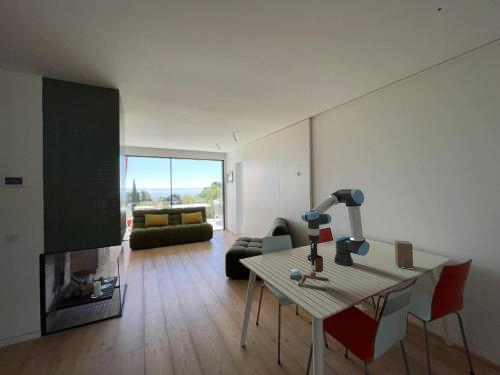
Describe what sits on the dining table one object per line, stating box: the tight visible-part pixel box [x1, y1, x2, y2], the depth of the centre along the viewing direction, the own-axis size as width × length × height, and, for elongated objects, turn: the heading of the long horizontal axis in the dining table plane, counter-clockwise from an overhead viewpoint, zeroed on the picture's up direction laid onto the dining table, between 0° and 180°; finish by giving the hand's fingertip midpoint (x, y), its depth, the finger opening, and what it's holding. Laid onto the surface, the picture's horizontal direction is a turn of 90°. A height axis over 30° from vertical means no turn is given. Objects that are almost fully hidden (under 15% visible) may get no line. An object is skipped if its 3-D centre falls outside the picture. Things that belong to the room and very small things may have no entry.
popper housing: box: [289, 272, 303, 281], centre depth 148 cm, size 7×7×2 cm
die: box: [309, 270, 317, 276], centre depth 150 cm, size 4×4×4 cm
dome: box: [291, 268, 301, 276], centre depth 148 cm, size 6×6×3 cm
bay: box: [297, 273, 329, 292], centre depth 139 cm, size 17×18×2 cm
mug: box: [307, 254, 324, 273], centre depth 139 cm, size 12×8×9 cm, turn 32°
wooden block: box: [394, 239, 414, 269], centre depth 166 cm, size 10×10×20 cm
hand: (314, 267), depth 139 cm, fingers closed on mug, 8 cm apart
